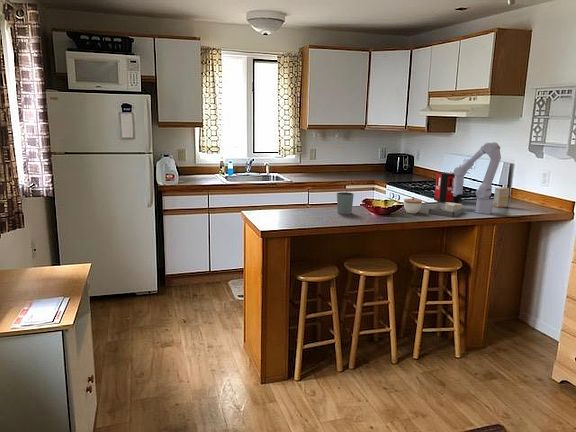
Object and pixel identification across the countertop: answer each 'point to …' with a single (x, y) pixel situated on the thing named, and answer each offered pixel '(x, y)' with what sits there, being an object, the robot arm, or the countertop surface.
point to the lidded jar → (412, 205)
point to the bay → (437, 211)
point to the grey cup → (344, 202)
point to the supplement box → (501, 197)
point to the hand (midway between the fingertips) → (456, 205)
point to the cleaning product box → (444, 187)
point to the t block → (452, 206)
